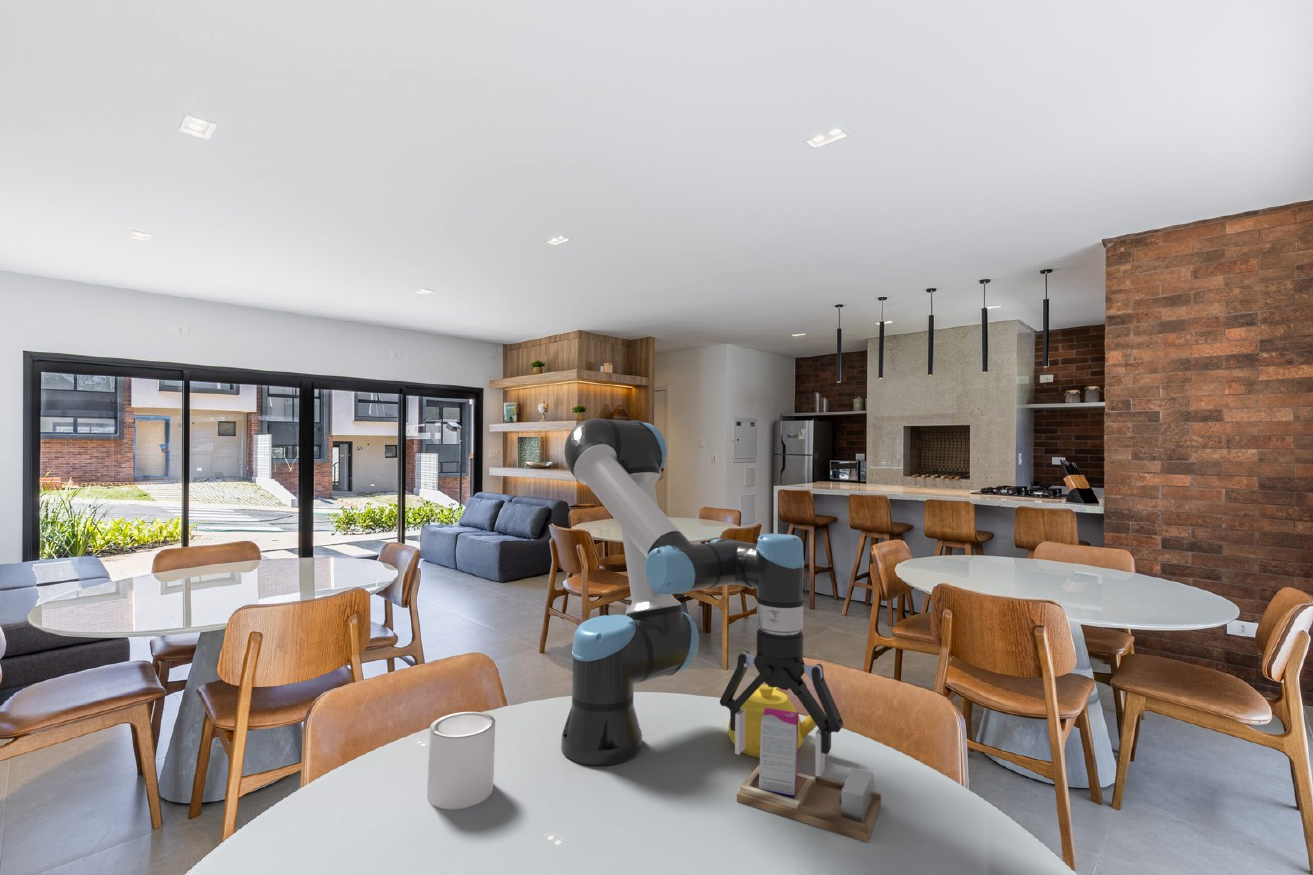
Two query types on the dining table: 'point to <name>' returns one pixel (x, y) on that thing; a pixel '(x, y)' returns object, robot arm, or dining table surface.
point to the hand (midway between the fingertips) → (778, 761)
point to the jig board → (811, 804)
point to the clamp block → (857, 795)
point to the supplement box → (778, 752)
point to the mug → (461, 760)
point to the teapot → (754, 713)
